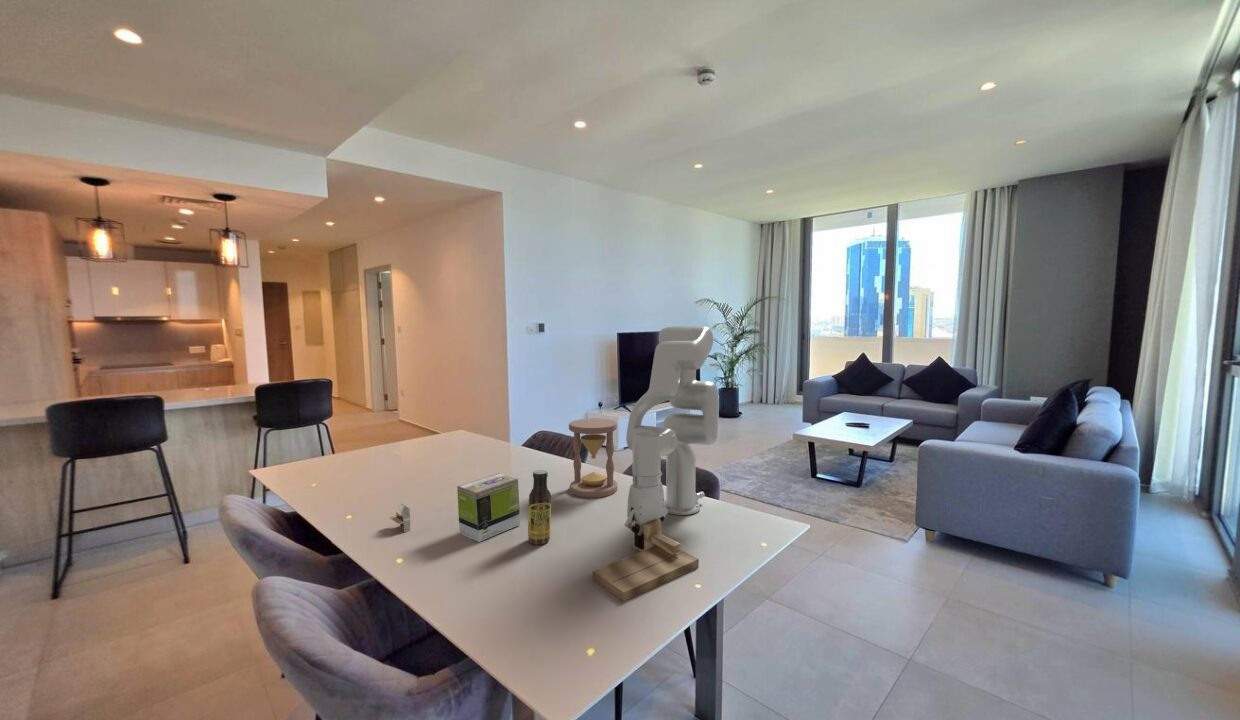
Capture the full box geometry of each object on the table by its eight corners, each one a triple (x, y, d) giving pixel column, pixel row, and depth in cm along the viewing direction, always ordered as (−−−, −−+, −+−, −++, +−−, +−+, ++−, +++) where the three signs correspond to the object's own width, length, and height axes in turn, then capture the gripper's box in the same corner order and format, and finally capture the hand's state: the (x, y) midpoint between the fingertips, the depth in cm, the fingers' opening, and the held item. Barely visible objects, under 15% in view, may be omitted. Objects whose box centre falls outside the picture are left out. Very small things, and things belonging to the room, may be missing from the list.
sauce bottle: (529, 547, 131) (527, 476, 130) (527, 537, 137) (525, 469, 136) (553, 544, 133) (551, 474, 131) (550, 534, 139) (548, 467, 137)
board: (665, 549, 129) (665, 541, 129) (698, 566, 120) (698, 558, 120) (592, 578, 115) (592, 570, 114) (623, 601, 105) (623, 592, 105)
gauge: (646, 541, 134) (646, 514, 133) (684, 561, 123) (684, 531, 122) (633, 547, 131) (632, 518, 130) (670, 567, 119) (670, 537, 119)
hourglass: (626, 486, 179) (626, 421, 178) (600, 501, 165) (599, 430, 163) (588, 479, 189) (587, 416, 187) (560, 492, 174) (559, 424, 172)
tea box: (500, 517, 152) (499, 472, 151) (520, 526, 145) (519, 478, 144) (458, 533, 140) (456, 484, 139) (478, 543, 134) (476, 491, 133)
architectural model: (399, 535, 140) (397, 511, 139) (389, 529, 145) (388, 505, 144) (410, 532, 142) (409, 507, 142) (401, 525, 147) (400, 502, 147)
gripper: (660, 469, 137) (660, 531, 138) (613, 482, 126) (613, 549, 127) (679, 475, 131) (679, 540, 132) (631, 490, 120) (631, 559, 122)
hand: (647, 543), depth 130 cm, fingers closed on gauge, 5 cm apart
